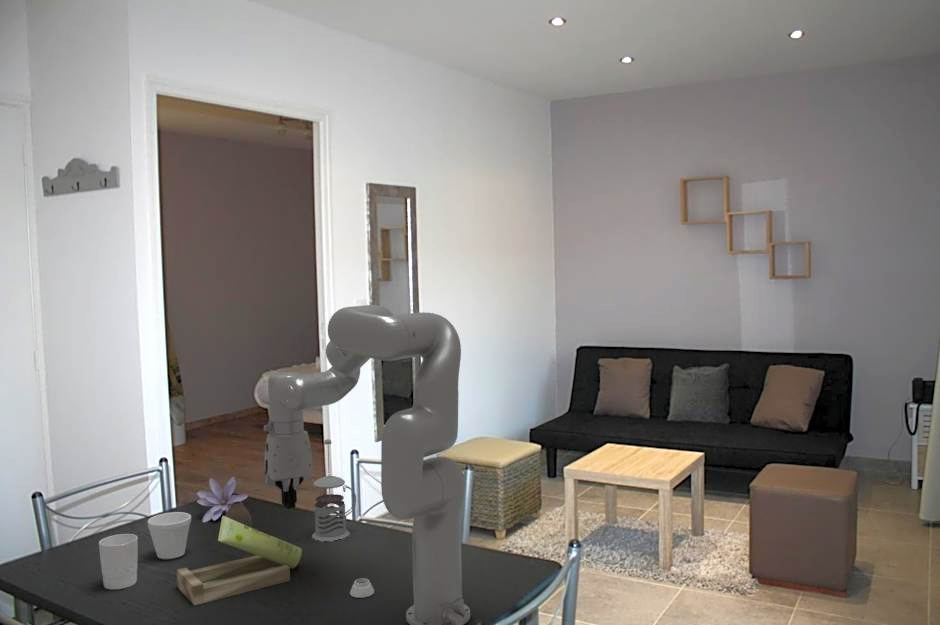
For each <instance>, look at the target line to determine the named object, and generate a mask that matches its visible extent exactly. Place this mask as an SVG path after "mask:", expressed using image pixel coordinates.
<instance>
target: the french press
mask: <svg viewBox="0 0 940 625" xmlns="http://www.w3.org/2000/svg"><path fill="white" fill-rule="evenodd" d="M331 444H332V440H331V439H329V438H327V439H325V440H324V445H331ZM329 447H330V446H327V460H328V461H327V462H328V463H327V464H328V468H327V469H328V471H327V472H330V457H329V456H330V453H329V449H330V448H329ZM345 484H346V480H344V479H343V478H342V477H338V476H336V475H325V476H323V477H320V478H317V479H316V480H315V481H314V482H313V487H314V488H317V489H324V490H326V489H327V490H328V494H322V495H318V496H317V497H316V498H315V501H316V503H315V504H314V519H315V520H314V521H315V522H314V523H315V525H314V526H315V532H313V533H312V534H311V539H313V538H314V539H315V540H314V539H313V540H314V541H317V540H319V541H318V542H324V541H329V542H335V541H334V540H338V539H342V540H344V539H346V538H345V537H347V536H348V535H349V536H351V533H350V531H348V530H347V516H348V515H350V514H351V513H352V512H354V510H355V507H356V505H357V495H356V493H355V492H354V490H353V489H352V488H351V487H350V486H349V485H345ZM340 487H342V490H343V492H344V493H345V492H346V489H349V490H350V491H351V492H352V495H353V502H352V504H351V505H352V506H351V507H350V508H349V509H348V510H347V511H346V503H345V501H344V499H345V498H344V495H341V494H338V493H337V494H336V493H331V489H335V488H336V489H337V488H340ZM331 504H333V505H331ZM327 505H329V506H327ZM330 505H331V506H330ZM334 505H336V506H334ZM325 506H327V507H325ZM331 514H333V515H331ZM349 536H348V537H349ZM348 537H347V538H348ZM343 538H344V539H343ZM338 541H339V540H338Z"/></svg>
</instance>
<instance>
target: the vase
mask: <svg viewBox="0 0 940 625" xmlns="http://www.w3.org/2000/svg"><path fill="white" fill-rule="evenodd" d="M230 505H231V507H230V508H229V510H228V511H227V513H225V515H224V516H225V517H228V518H230V519H232V520H235V521H237V522H239V523H242V524H244V525H246V526H249V527H251V528H252V516H251V514H250V512H249V510H248V509H247V507H246V506H244V504H243V502H242V501H236V502H233V503H232V504H230Z"/></svg>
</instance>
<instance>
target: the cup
mask: <svg viewBox="0 0 940 625" xmlns="http://www.w3.org/2000/svg"><path fill="white" fill-rule="evenodd" d="M191 522H192V515H191V514H190V513H187V512H182V511H177V512H176V511H173V512H164V513H159V514H157V515H154V516H152V517H151V516H150V518H149V519H148V520H147V528H148V530H149V533H150V536H151V539H152V543H153V547H154V550H155V552H156V553H155V554H156V555H157V556H156V558H158V559H159V560H163V561H170V560H176V559H179V558H181V557H183V556H184V555H185V552H186V546H187V541H188V535H189V531H190V524H191Z"/></svg>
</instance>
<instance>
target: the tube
mask: <svg viewBox="0 0 940 625" xmlns="http://www.w3.org/2000/svg"><path fill="white" fill-rule="evenodd" d="M218 533H219V534H218V539H217V541H218V542H219V543H223V544H225V545H228V546H230V547H234V548H237V549H239V550H242V551H245V552H247V553H250V554H253V555H254V556H256V555H258V556H260V557H263V558H265V559H268V560H271V561H273V563H276V564H279V565H281V566H284V565H287V566H288V567H290V570H291V569H295V568H296V567H297V566H298V564H299V563H300V560H301V558H302V553H303V549H302V548H301V547H299V546H297V545H294V544H292V543H290V542H287V541H285V540H283V539H280V538H277V537H275V536H273V535H271V534H268V533H265V532H264V531H263V532H262V531H260V530H258V529H256V528H253V527H252V526H251V527H249V526H246V525H244V524H242V523H239V522H237V521H235V520H232V519H230V518H228V517H225V515H222V517H221V521H220V528H219V532H218Z"/></svg>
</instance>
